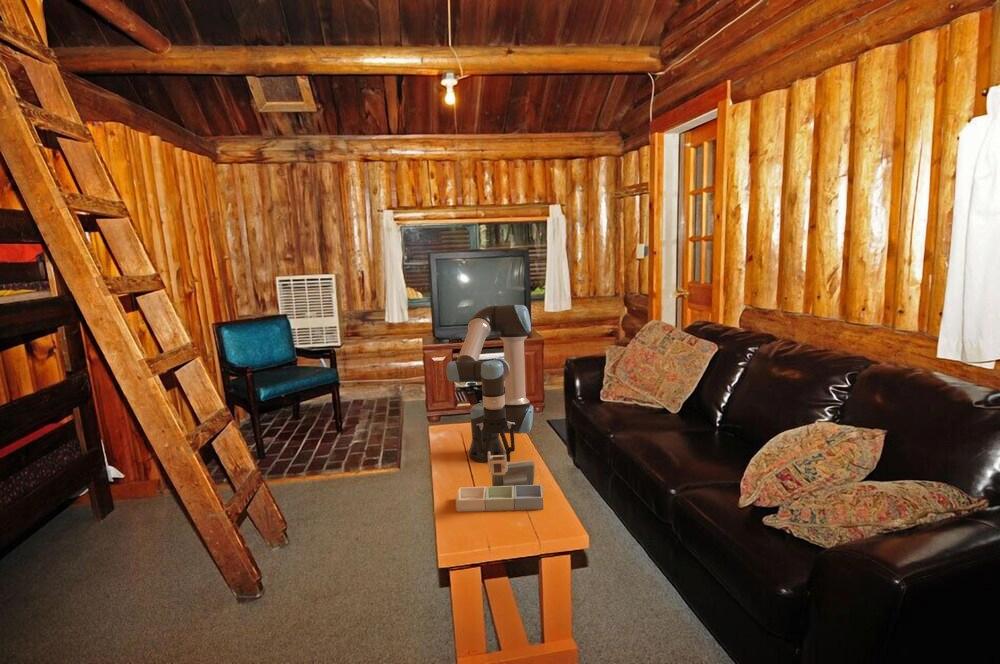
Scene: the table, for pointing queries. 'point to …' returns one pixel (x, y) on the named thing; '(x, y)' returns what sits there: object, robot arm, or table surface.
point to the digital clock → (516, 474)
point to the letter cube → (497, 465)
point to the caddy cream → (471, 499)
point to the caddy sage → (499, 498)
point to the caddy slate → (528, 497)
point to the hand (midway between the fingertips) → (498, 470)
